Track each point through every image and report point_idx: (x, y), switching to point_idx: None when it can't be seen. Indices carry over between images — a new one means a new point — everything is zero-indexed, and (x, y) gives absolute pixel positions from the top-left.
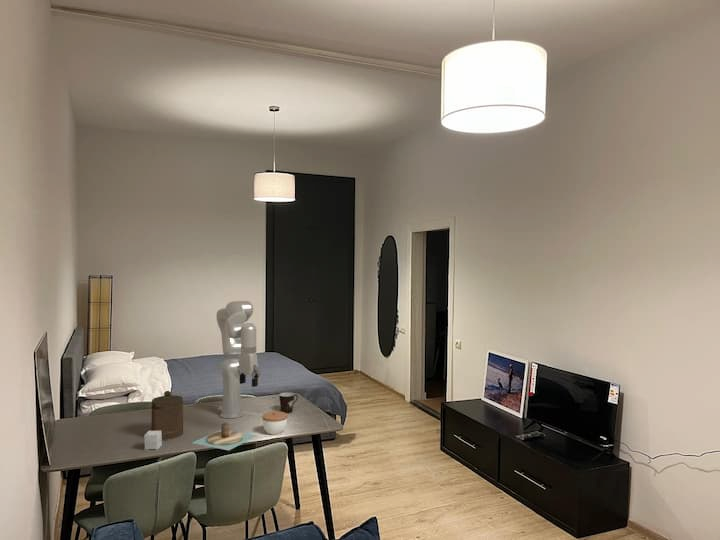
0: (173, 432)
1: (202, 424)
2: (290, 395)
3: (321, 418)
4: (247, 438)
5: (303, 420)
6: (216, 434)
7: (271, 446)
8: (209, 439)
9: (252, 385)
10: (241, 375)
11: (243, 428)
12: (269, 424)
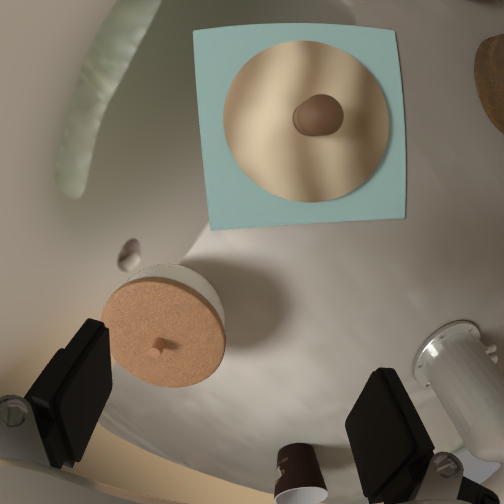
0: (489, 53)
1: (490, 231)
2: (299, 499)
3: (162, 448)
4: (222, 177)
5: (192, 425)
6: (365, 125)
7: (84, 170)
8: (345, 60)
9: (82, 327)
10: (409, 468)
11: (333, 276)
12: (146, 272)
